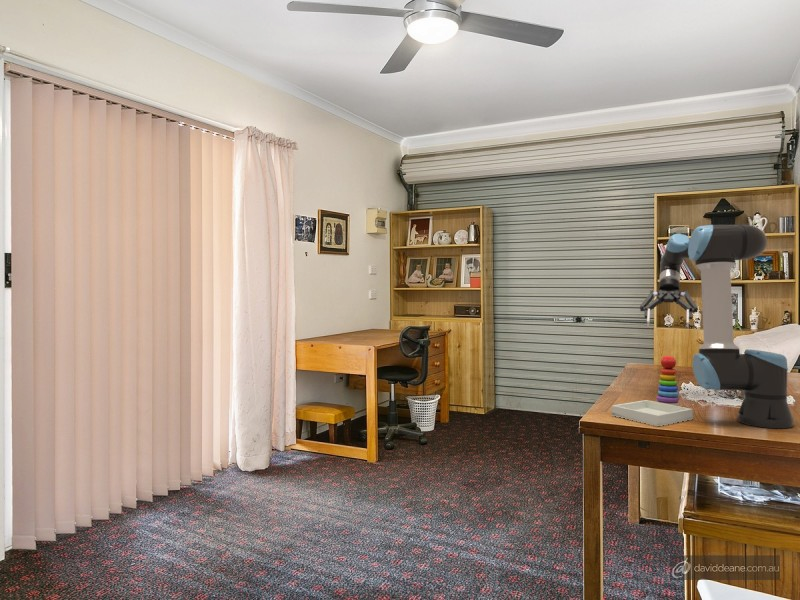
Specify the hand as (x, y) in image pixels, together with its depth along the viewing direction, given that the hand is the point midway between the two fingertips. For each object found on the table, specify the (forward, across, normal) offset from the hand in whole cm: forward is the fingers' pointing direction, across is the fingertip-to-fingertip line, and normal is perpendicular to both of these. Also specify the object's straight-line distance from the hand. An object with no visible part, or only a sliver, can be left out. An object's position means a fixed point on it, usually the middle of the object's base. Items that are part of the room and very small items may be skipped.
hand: (667, 324), depth 222 cm
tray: (+42, +4, +2) cm, 43 cm away
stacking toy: (+28, -1, -14) cm, 31 cm away
